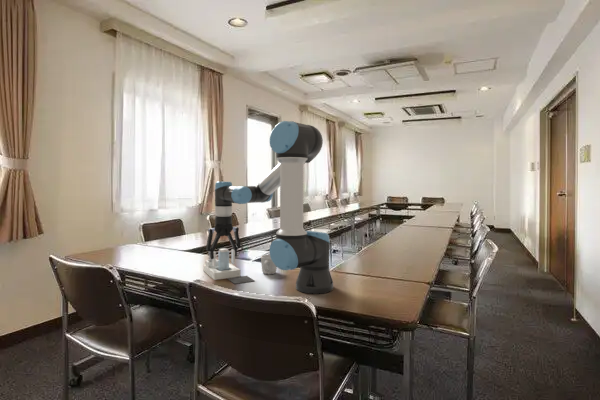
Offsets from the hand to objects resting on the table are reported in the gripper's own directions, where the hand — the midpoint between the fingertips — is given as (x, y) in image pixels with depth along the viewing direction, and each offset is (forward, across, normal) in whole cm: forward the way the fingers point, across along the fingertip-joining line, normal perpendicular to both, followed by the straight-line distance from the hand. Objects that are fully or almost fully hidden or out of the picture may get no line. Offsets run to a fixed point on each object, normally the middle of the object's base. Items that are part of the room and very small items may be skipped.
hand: (223, 264), depth 159 cm
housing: (+5, 0, -4) cm, 6 cm away
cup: (+5, -19, +8) cm, 21 cm away
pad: (+5, -4, +12) cm, 13 cm away
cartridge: (+5, 0, 0) cm, 5 cm away
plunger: (+1, +3, -8) cm, 9 cm away
